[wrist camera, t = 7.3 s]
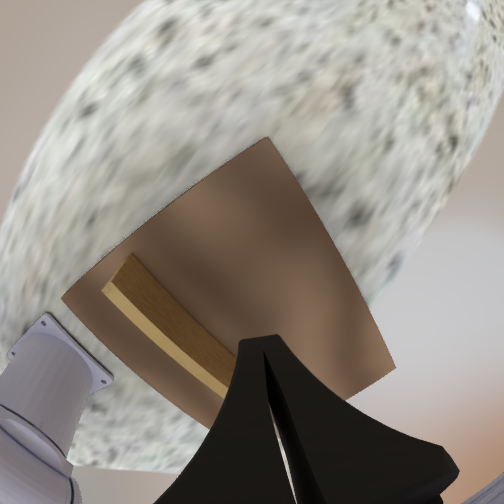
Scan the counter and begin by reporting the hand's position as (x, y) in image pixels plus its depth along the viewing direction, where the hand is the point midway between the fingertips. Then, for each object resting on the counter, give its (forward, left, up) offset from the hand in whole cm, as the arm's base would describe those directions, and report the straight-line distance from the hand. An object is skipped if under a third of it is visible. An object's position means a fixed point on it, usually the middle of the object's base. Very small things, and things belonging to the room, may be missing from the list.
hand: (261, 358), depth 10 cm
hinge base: (-3, -6, -9) cm, 12 cm away
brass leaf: (-5, -2, -8) cm, 10 cm away
